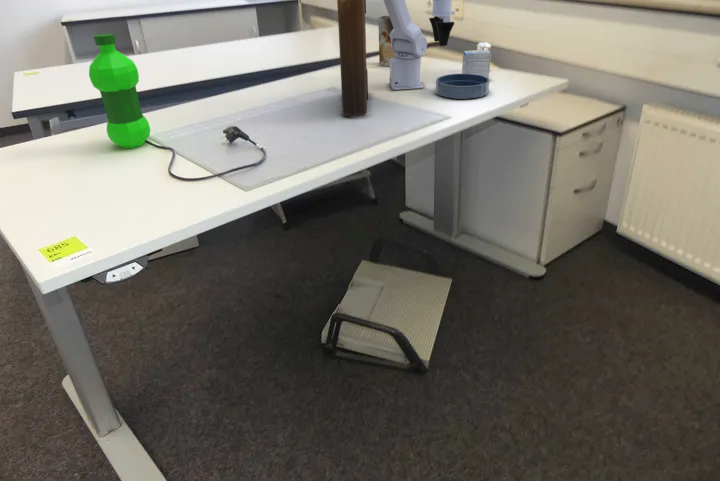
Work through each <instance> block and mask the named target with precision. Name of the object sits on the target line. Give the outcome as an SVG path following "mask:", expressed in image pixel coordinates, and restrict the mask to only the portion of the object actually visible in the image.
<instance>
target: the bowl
mask: <svg viewBox="0 0 720 481" xmlns="http://www.w3.org/2000/svg"><path fill="white" fill-rule="evenodd" d="M489 89H490V78H489V79H488V78H487V77H484V76H481V75H476V74H462V73H449V74H444V75H441V76H439V77H437V78H436V80H435V93H436V94H437V95H439V96H441V97H444V98H449V99H456V100H471V99H478V98H481V97H483V96H486V95H488V94H489V91H490V90H489Z"/></svg>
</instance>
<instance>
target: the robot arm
mask: <svg viewBox="0 0 720 481" xmlns="http://www.w3.org/2000/svg"><path fill="white" fill-rule="evenodd" d="M452 2H453V0H432V12H431V16H432V17H429V18H428V20H429V22H430V25H431V29H432V34H433V40H434V42H438V43H439V46H440V47H442V46H443V47H445V46H448V43H449V38H450V34H451V31H452V30H453V27H454V26H455V22H454V21H451V16H452V15H455V14H456V12H455V11H453V10H452ZM383 3H384V6H385V9H386V11H387V14H388V16H389V17H390V19H391V22H392V25H393V28H394V29H393V30H392V31H391V33H390V38H391V47H392V50H393V52H394V53H395V56H397V57H395V58H390V66H389V79H388V80H389V83H388V84H389V86H390V88H391V89H392V90H393V91H396V90H397V91H399V90H400V91H401V90H415V89H417V90H418V89H424V85H423V84H422V83H421V64H422V57H423V56H424V54H425V53H426V51H427V48H428V40H427V37H426V36H425V35H424V34H423V33H422V30H421V28H420V27H419V26H417V25H416V24H415V23H414V22H413V21H412V17H411V15H410V12H409V8H408V5H407V3H406V0H383Z"/></svg>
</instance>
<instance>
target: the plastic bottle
mask: <svg viewBox="0 0 720 481" xmlns="http://www.w3.org/2000/svg"><path fill="white" fill-rule="evenodd" d="M93 38H94V42H95V46H98V47H99V48H98V49H99V52H98V54H97V55H96V56H95V57H94V59H93V60H92V62H91V63H90V65H89V68H88V69H89V70H88V76H89V78H90V80H89V81H90V82H91V84H92V86H93V88H95V89H96V90H98V91H99V92H100V96H101V101H102V104H103V107H104V111H105V114H106V117H107V123H106V133H107V137H108V139H110V141H111V142H112V143H114V144H115V145H117V146H120V147H121V148H123V149H134V148H138V147H141V146H143V145H144V143H146V141H147V140H148V138H150V135H151V127H150V123H149V121H148V120H147V118H146V117H145V116H144V114H143V111H142V107H141V103H140V99H139V95H138V91H137V87H136V86H137V85H138V83H139V82H140V77H139V76H140V74H139V70H138V67H137V65H136V64H135V62H134V60H132V59H131V58H129V57H128V56H127V55H125V54H123V53H121V52H120V51H118V50H117V49H116V47H115V44H117V41H116V36H115V33H114V32H113V33H112V32H107V33H106V32H105V33H103V32H102V33H97V34H94V35H93Z"/></svg>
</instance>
